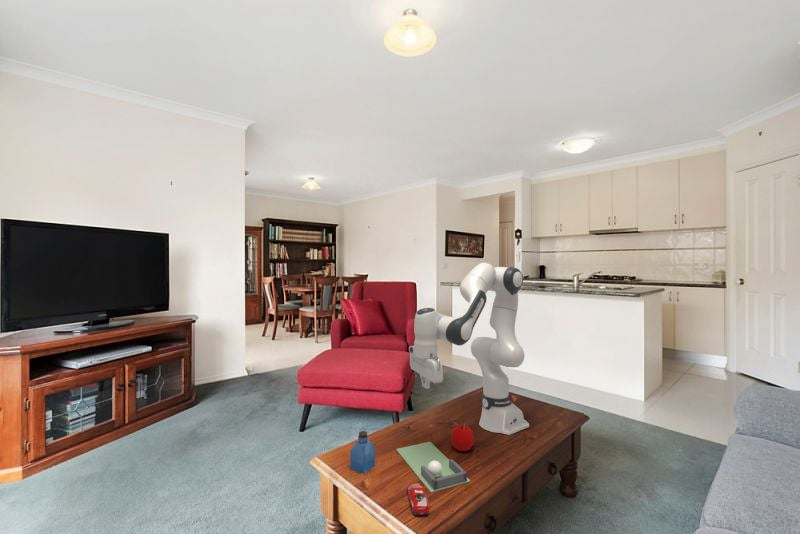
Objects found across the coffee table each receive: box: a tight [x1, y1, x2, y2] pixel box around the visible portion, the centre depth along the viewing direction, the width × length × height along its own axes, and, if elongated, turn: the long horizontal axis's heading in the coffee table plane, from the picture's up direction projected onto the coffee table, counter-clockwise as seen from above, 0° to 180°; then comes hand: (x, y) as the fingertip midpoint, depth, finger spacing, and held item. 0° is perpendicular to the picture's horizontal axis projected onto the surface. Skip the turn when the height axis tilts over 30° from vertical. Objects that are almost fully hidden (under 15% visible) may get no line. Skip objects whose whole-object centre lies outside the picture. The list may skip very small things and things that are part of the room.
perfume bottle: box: [349, 430, 376, 475], centre depth 124 cm, size 6×6×12 cm
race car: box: [406, 482, 430, 516], centre depth 106 cm, size 13×5×4 cm, turn 6°
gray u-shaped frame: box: [421, 458, 468, 490], centre depth 118 cm, size 12×9×3 cm
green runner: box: [395, 441, 471, 494], centre depth 126 cm, size 15×28×1 cm, turn 24°
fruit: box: [450, 423, 475, 452], centre depth 138 cm, size 9×9×10 cm
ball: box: [428, 461, 442, 478], centre depth 119 cm, size 5×5×5 cm
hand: (425, 387), depth 133 cm, fingers closed
